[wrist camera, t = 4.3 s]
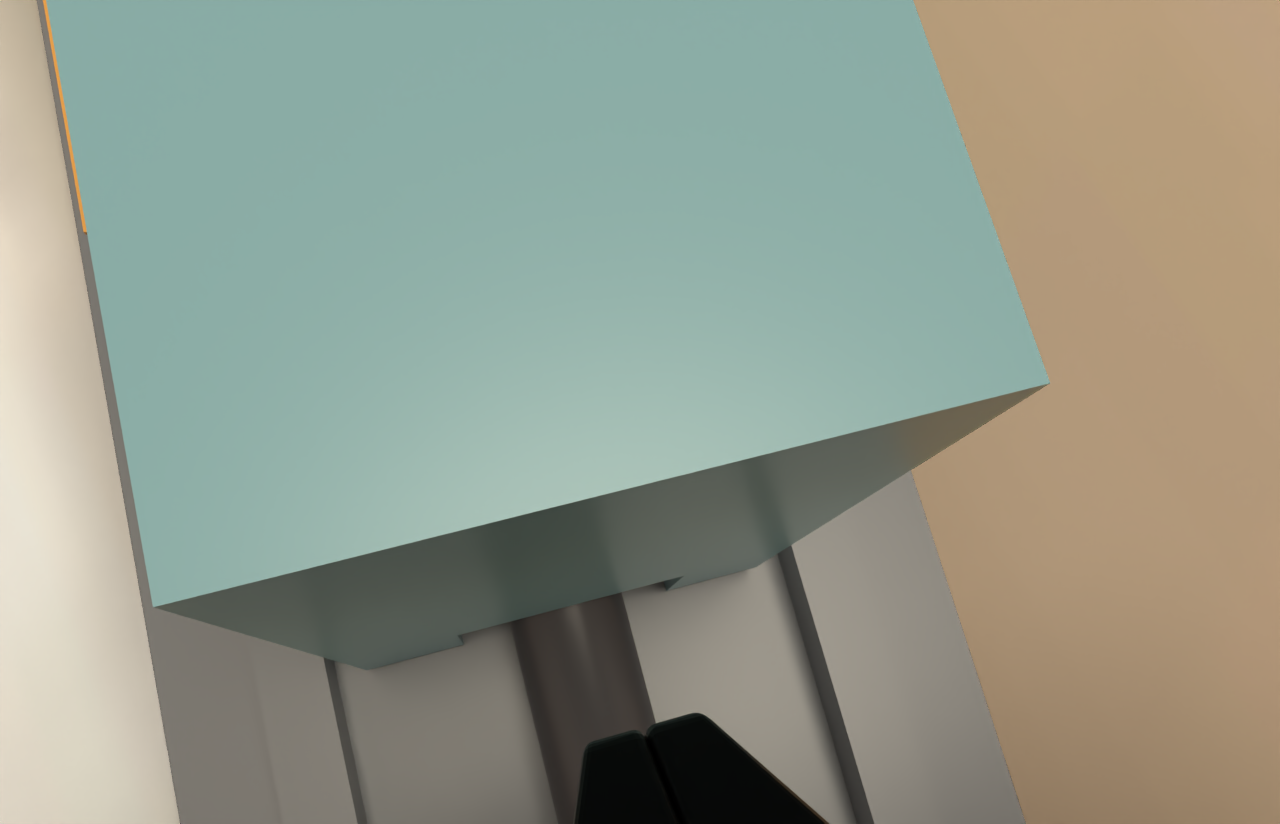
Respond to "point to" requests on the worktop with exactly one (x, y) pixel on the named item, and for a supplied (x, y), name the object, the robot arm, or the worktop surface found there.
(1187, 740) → the worktop surface
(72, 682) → the worktop surface
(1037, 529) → the worktop surface
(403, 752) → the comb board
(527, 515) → the notched teal block
